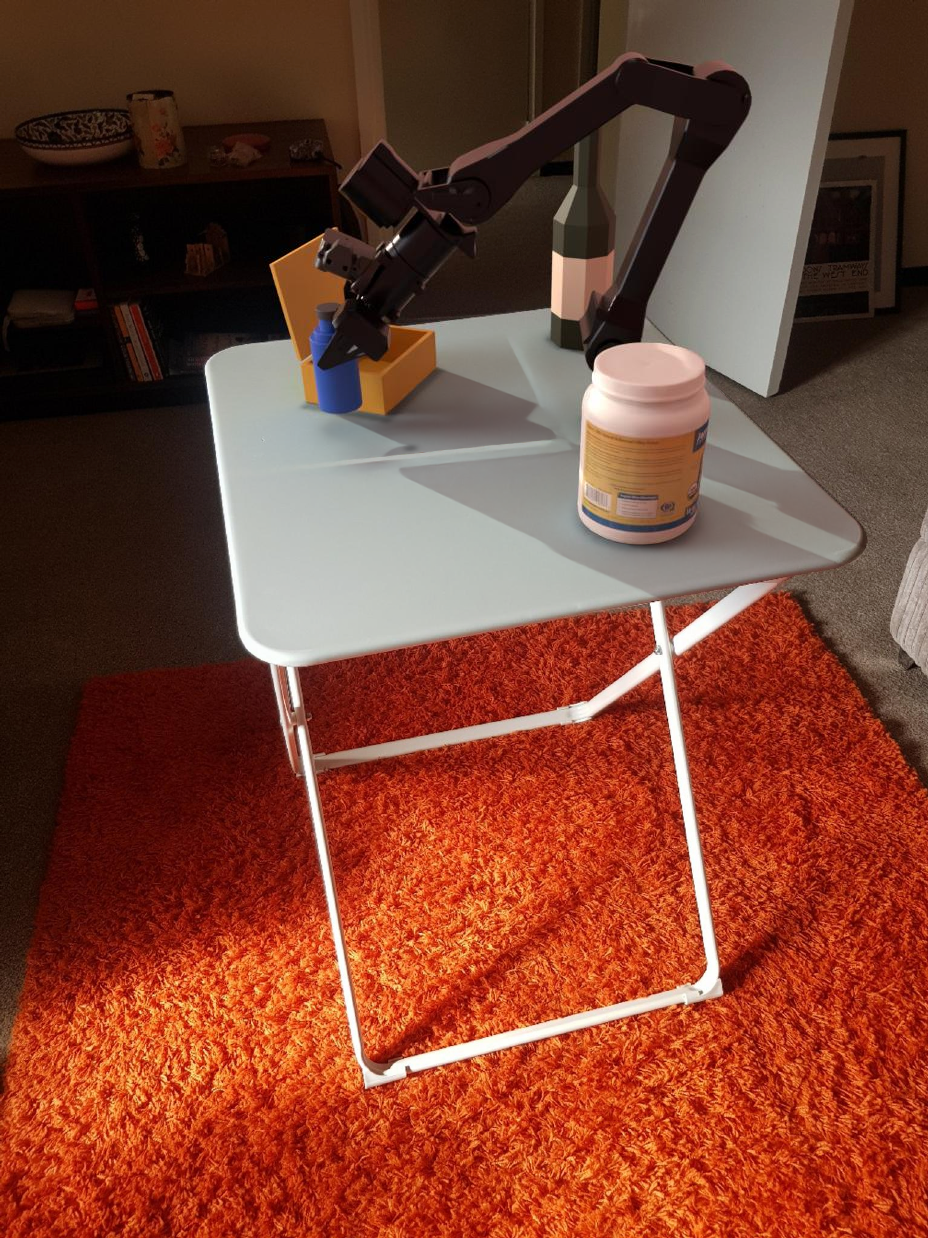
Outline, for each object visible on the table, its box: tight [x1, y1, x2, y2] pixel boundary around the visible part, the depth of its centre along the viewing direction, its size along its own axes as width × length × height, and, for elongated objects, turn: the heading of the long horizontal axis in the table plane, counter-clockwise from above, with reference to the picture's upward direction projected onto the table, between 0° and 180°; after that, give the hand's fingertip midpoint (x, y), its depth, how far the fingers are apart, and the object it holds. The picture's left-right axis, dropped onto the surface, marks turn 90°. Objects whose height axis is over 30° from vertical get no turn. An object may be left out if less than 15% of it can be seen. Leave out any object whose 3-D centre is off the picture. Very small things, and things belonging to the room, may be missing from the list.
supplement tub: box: [577, 342, 711, 545], centre depth 96 cm, size 12×12×17 cm
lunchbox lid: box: [269, 227, 350, 362], centre depth 124 cm, size 12×15×4 cm
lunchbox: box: [300, 324, 438, 416], centre depth 127 cm, size 11×15×6 cm
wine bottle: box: [550, 126, 617, 351], centre depth 130 cm, size 8×8×30 cm
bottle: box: [310, 302, 363, 415], centre depth 113 cm, size 5×5×12 cm
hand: (323, 357), depth 113 cm, fingers closed on bottle, 5 cm apart
